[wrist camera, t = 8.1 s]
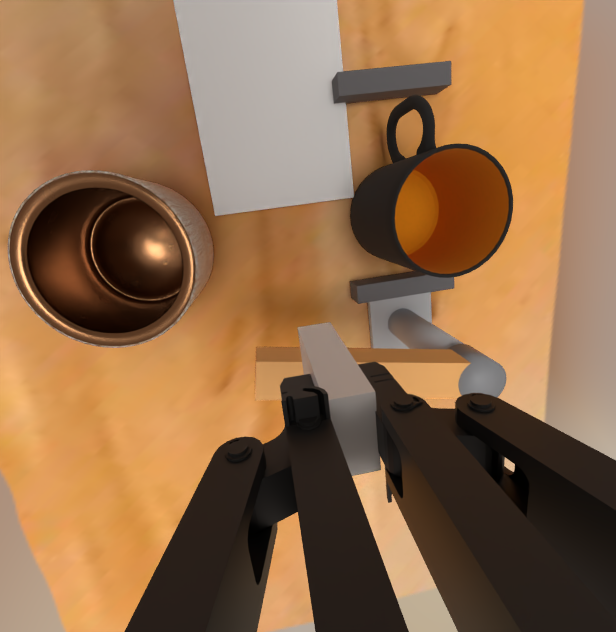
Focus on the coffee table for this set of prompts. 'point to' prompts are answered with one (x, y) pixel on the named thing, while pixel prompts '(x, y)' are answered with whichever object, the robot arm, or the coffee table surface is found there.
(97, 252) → the planter
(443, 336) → the dock
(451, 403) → the coffee table surface
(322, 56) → the mat
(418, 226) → the mug
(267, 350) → the wooden bar
